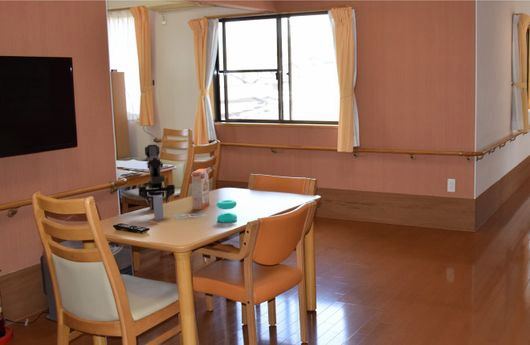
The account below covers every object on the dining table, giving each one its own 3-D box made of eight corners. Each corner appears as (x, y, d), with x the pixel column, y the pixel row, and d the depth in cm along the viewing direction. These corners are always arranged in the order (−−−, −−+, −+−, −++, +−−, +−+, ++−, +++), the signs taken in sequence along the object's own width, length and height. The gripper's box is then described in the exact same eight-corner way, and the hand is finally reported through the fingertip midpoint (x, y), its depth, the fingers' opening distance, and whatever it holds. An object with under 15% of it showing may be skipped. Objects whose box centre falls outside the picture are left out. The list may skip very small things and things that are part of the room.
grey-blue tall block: (154, 218, 332) (153, 195, 331) (163, 218, 333) (161, 195, 331) (154, 220, 328) (153, 197, 326) (163, 219, 329) (162, 196, 327)
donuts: (224, 198, 327) (240, 200, 322) (224, 217, 329) (241, 219, 323) (212, 202, 319) (228, 203, 314) (213, 222, 320) (229, 223, 315)
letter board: (172, 215, 338) (172, 214, 338) (202, 212, 343) (202, 212, 343) (176, 220, 327) (176, 219, 327) (207, 217, 331) (207, 216, 331)
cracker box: (203, 210, 350) (201, 172, 347) (192, 209, 351) (190, 172, 348) (210, 204, 364) (208, 168, 361) (200, 204, 365) (198, 168, 362)
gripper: (137, 171, 334) (139, 196, 325) (173, 169, 337) (176, 193, 328) (138, 183, 342) (139, 208, 334) (173, 181, 346) (175, 205, 337)
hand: (157, 203), depth 333 cm, fingers open, 9 cm apart
